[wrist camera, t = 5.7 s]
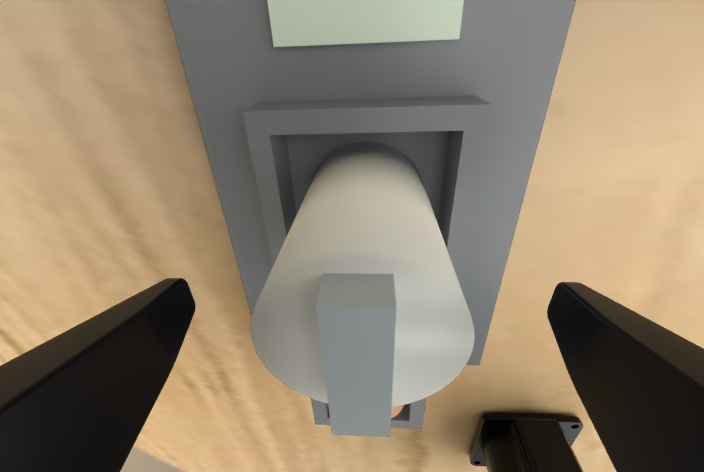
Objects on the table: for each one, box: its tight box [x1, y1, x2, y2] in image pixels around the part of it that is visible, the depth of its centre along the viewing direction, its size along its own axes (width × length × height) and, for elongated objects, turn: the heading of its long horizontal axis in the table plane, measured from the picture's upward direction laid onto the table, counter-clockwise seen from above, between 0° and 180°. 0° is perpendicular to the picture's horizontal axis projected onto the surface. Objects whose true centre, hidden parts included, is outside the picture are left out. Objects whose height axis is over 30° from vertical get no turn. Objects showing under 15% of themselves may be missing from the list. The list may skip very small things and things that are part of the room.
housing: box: [165, 0, 576, 429], centre depth 11 cm, size 21×12×5 cm, turn 2°
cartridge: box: [251, 141, 475, 437], centre depth 9 cm, size 4×4×8 cm
